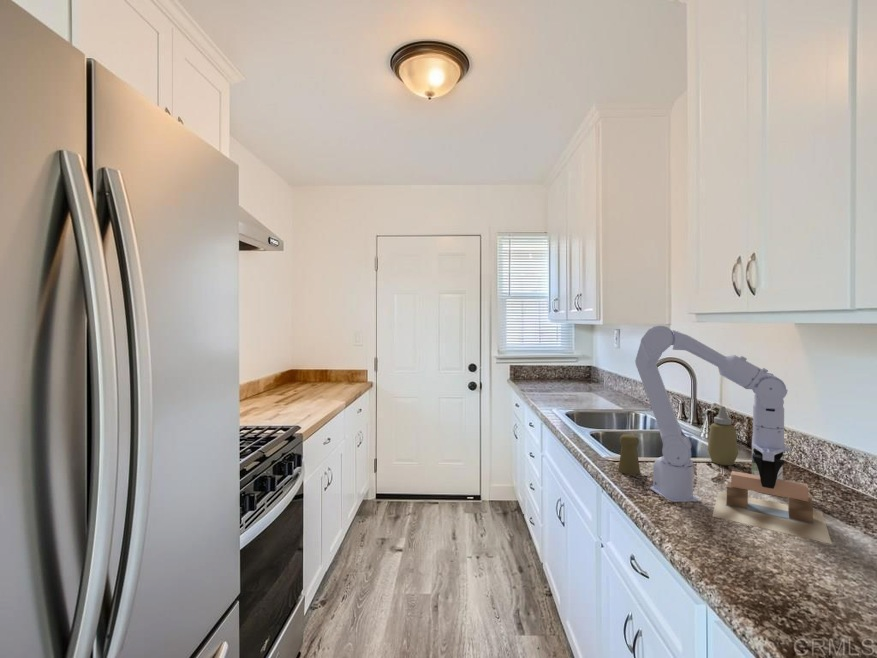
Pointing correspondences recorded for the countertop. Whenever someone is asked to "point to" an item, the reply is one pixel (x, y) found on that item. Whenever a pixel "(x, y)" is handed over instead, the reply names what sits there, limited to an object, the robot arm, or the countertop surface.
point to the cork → (629, 455)
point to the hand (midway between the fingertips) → (767, 484)
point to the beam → (780, 489)
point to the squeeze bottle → (722, 440)
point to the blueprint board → (772, 514)
